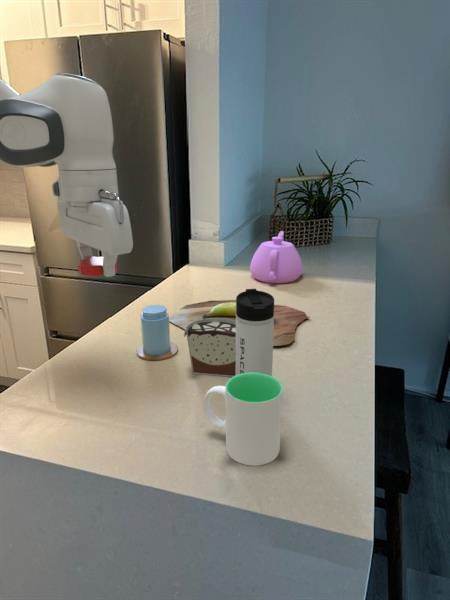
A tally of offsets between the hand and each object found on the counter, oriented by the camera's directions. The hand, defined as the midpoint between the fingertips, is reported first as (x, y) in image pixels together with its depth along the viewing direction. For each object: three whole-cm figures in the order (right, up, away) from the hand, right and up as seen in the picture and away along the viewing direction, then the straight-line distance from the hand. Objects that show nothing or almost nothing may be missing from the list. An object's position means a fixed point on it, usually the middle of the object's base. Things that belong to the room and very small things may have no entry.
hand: (98, 270), depth 74 cm
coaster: (+7, -16, +21) cm, 27 cm away
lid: (0, +1, -1) cm, 1 cm away
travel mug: (+27, -23, +2) cm, 35 cm away
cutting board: (+25, -10, +37) cm, 46 cm away
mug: (+24, -27, -8) cm, 37 cm away
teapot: (+39, +3, +74) cm, 84 cm away
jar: (+7, -16, +21) cm, 27 cm away
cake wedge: (+20, -19, +14) cm, 31 cm away
